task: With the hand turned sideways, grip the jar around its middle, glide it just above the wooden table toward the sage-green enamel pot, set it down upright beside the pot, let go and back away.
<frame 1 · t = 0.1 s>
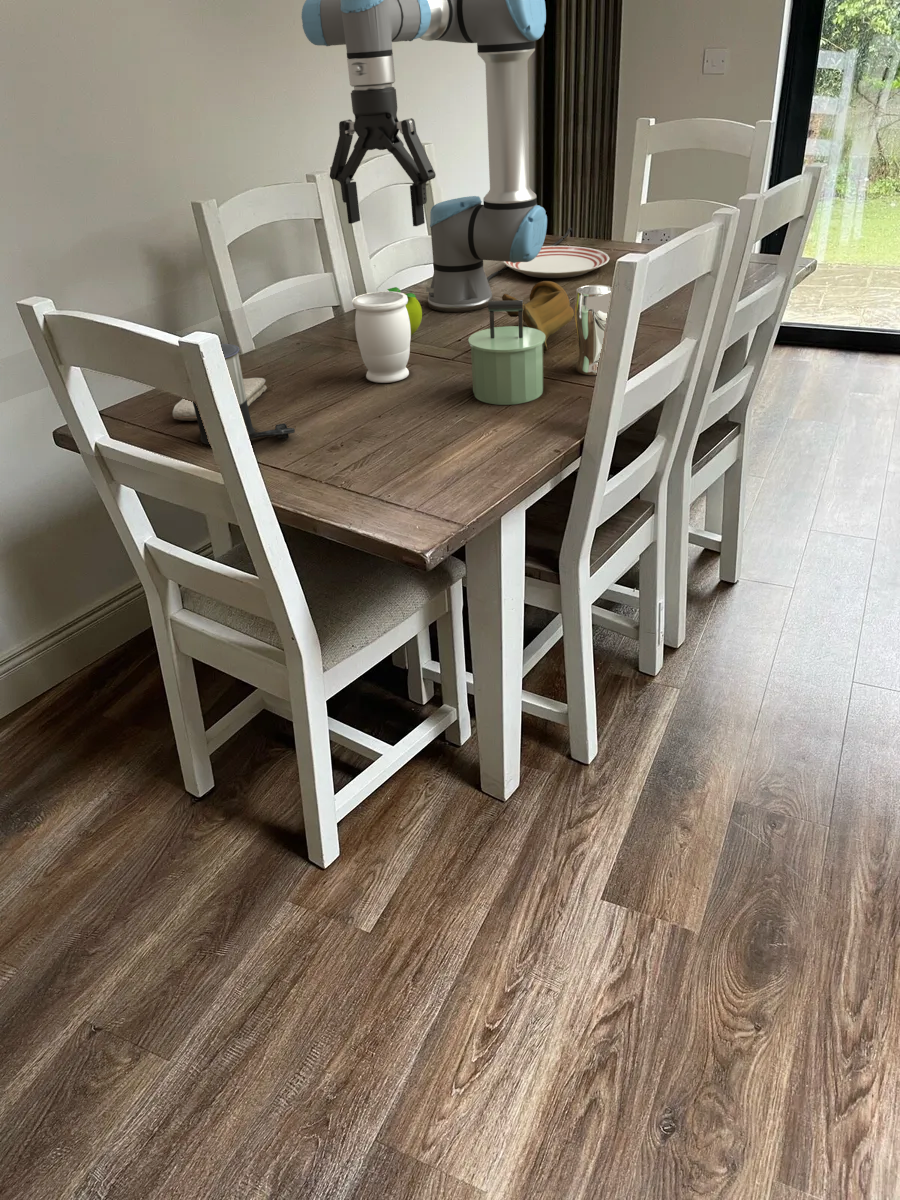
hand: (386, 223, 164), 28 cm above the table, tool pointing down, fingers open, 13 cm apart
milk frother: (248, 440, 157), on the table
beer glass: (592, 371, 175), on the table
fruit: (401, 337, 201), on the table
jar: (387, 377, 180), on the table
pot lid: (506, 340, 163), point 9 cm above the table, touching pot
washcloth: (223, 406, 172), on the table
pot: (508, 392, 168), on the table
brown looped sculpture: (539, 342, 192), on the table
dinner plate: (555, 270, 243), on the table
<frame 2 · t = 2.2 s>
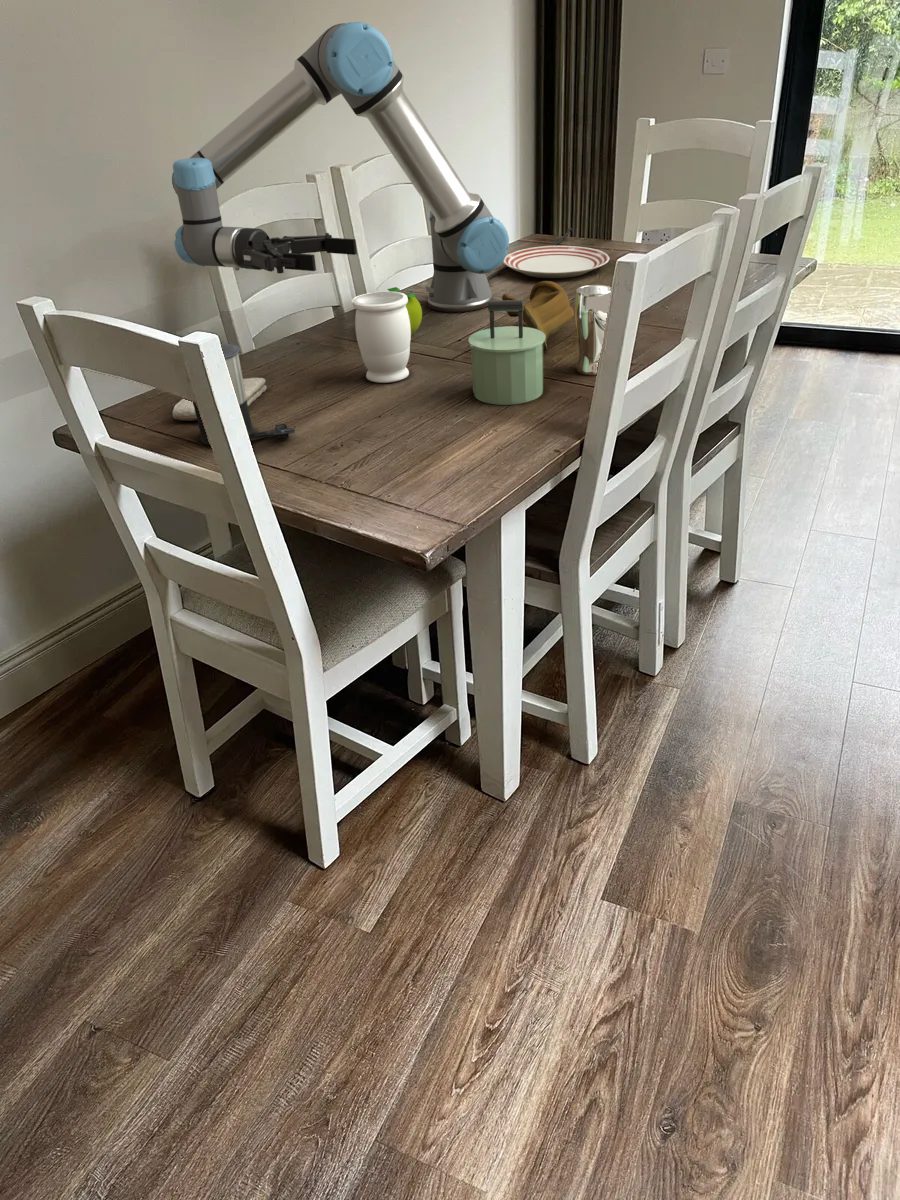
hand: (335, 254, 172), 22 cm above the table, tool horizontal, fingers open, 13 cm apart
nothing on the table moved.
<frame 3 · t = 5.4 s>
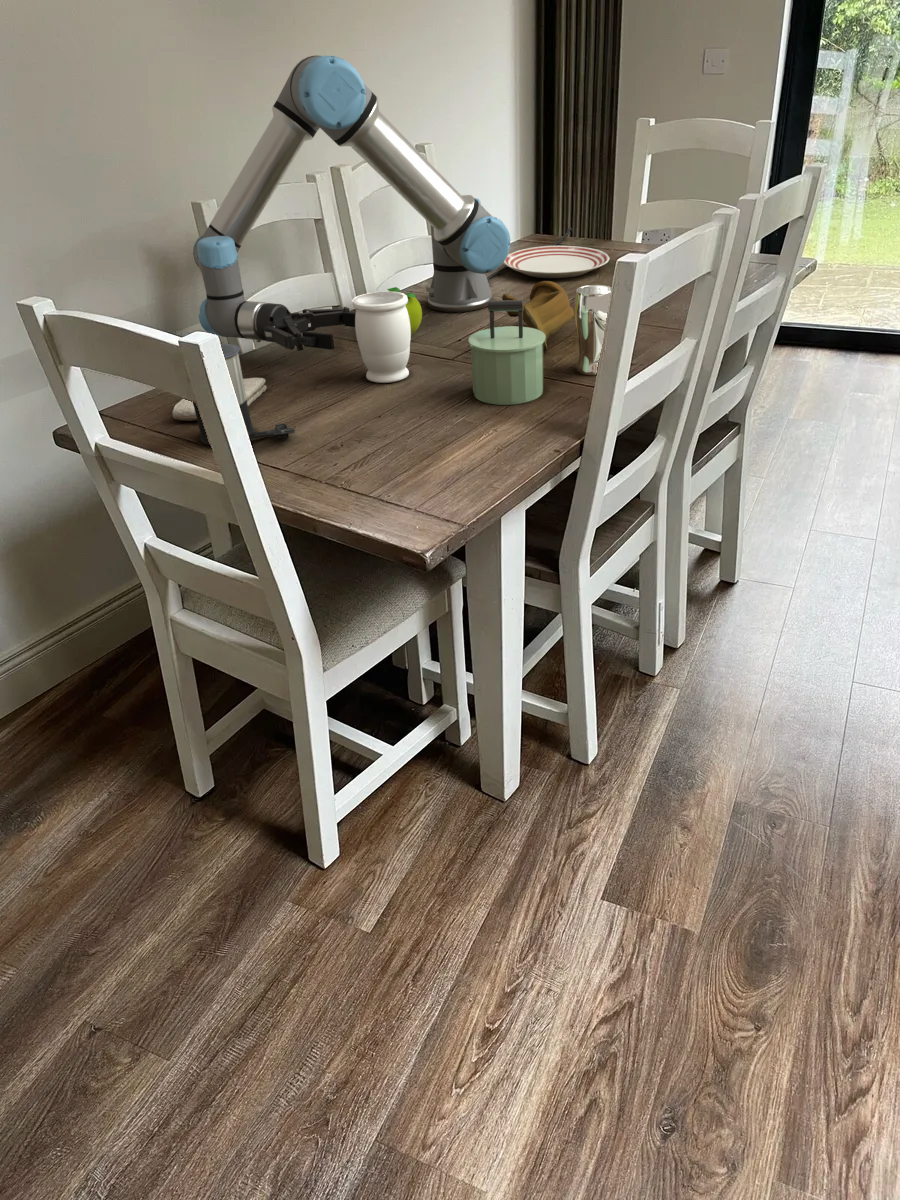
hand: (352, 331, 178), 8 cm above the table, tool horizontal, fingers open, 13 cm apart
nothing on the table moved.
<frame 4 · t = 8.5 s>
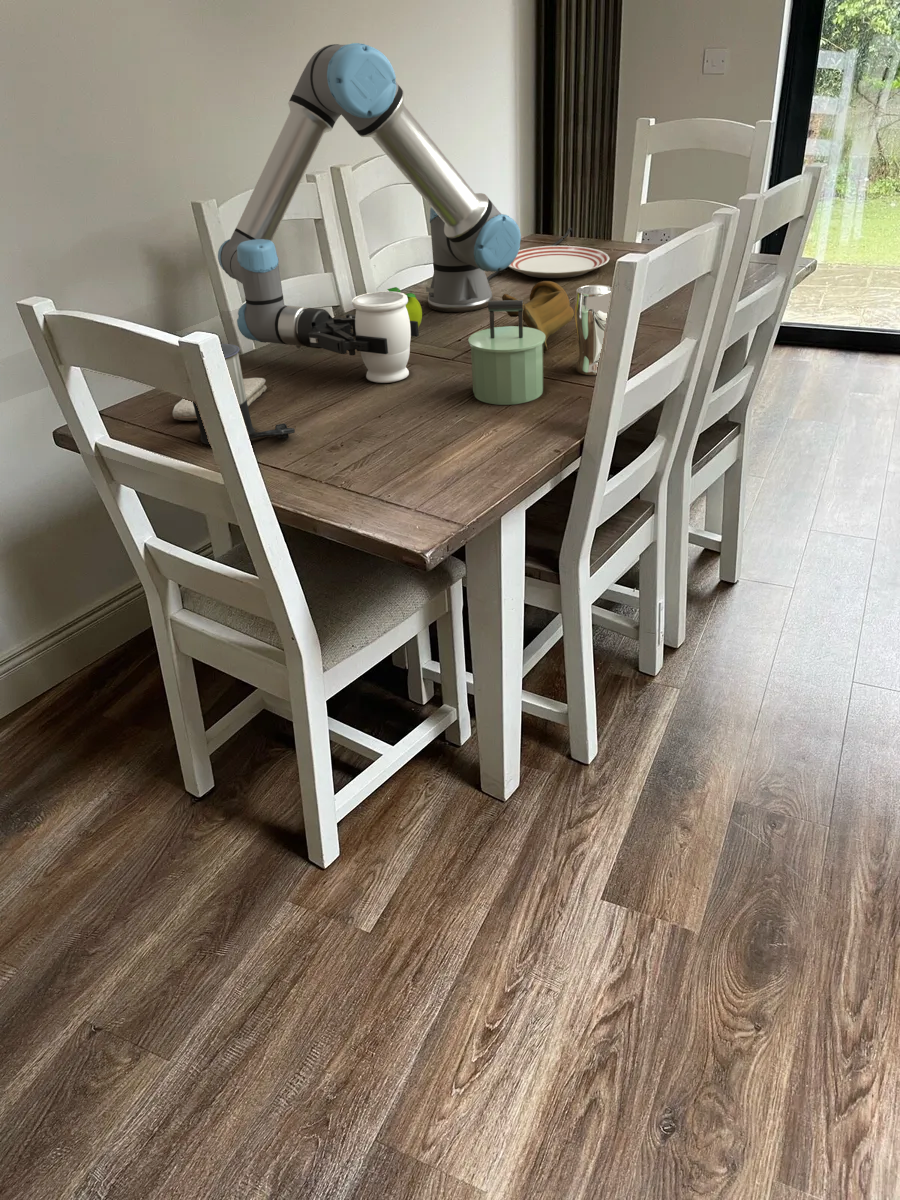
hand: (402, 337, 173), 8 cm above the table, tool horizontal, fingers closed on jar, 10 cm apart
jar: (387, 377, 180), on the table, touching gripper
everything else where it was.
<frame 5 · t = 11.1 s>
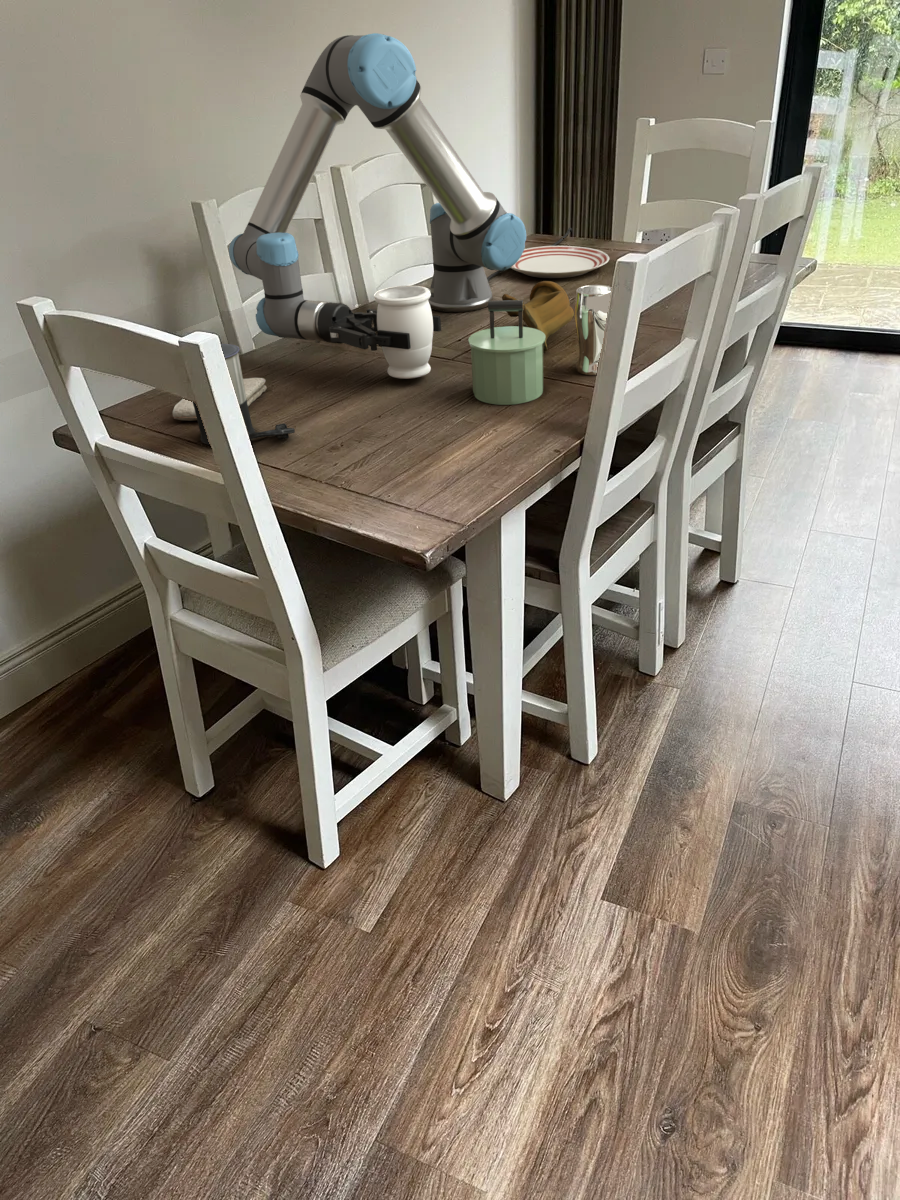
hand: (424, 332, 170), 9 cm above the table, tool horizontal, fingers closed on jar, 10 cm apart
jar: (409, 373, 177), point 1 cm above the table, touching gripper
everything else where it was.
when the fingers open (8 cm above the table, at t = 13.7 s): jar stays where it is, on the table.
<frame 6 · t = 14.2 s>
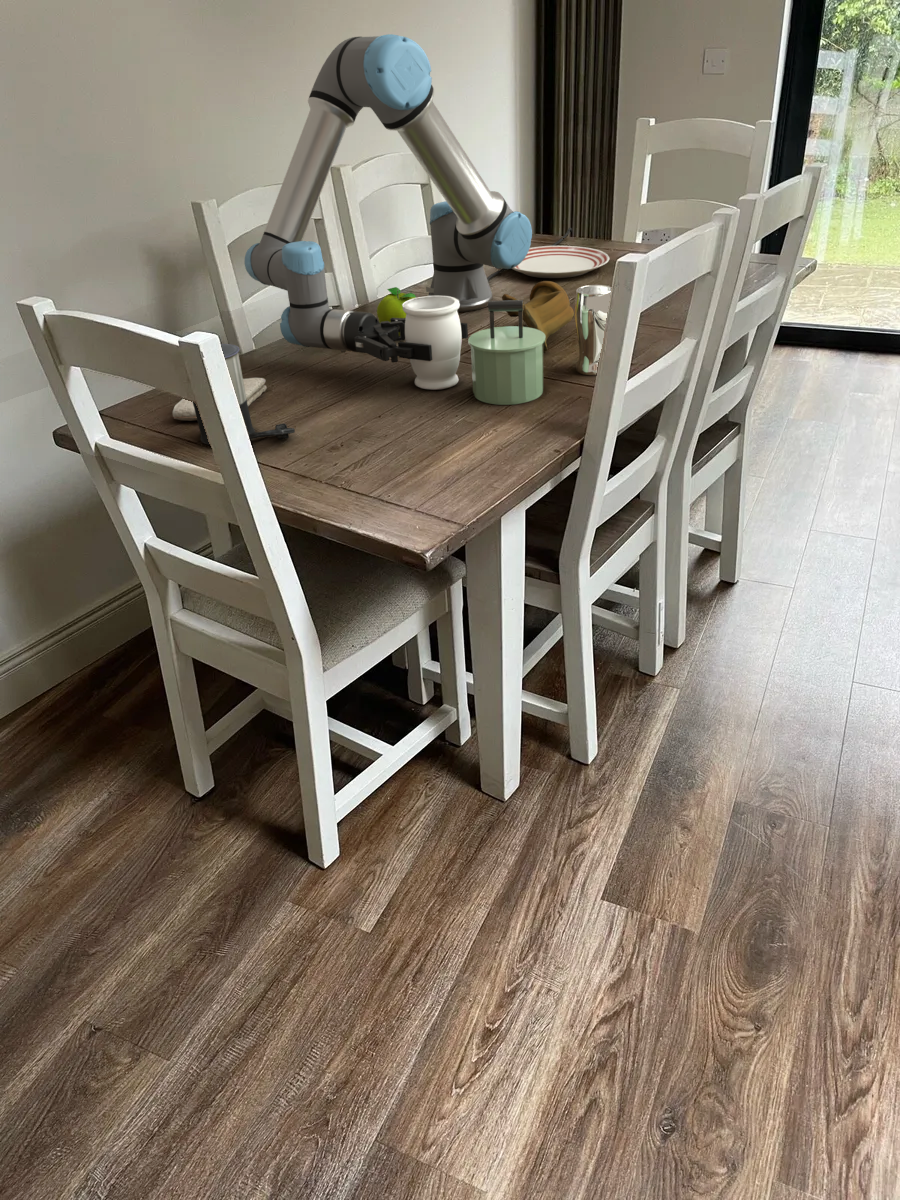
hand: (449, 341, 169), 8 cm above the table, tool horizontal, fingers open, 13 cm apart
jar: (436, 383, 175), on the table
everything else where it was.
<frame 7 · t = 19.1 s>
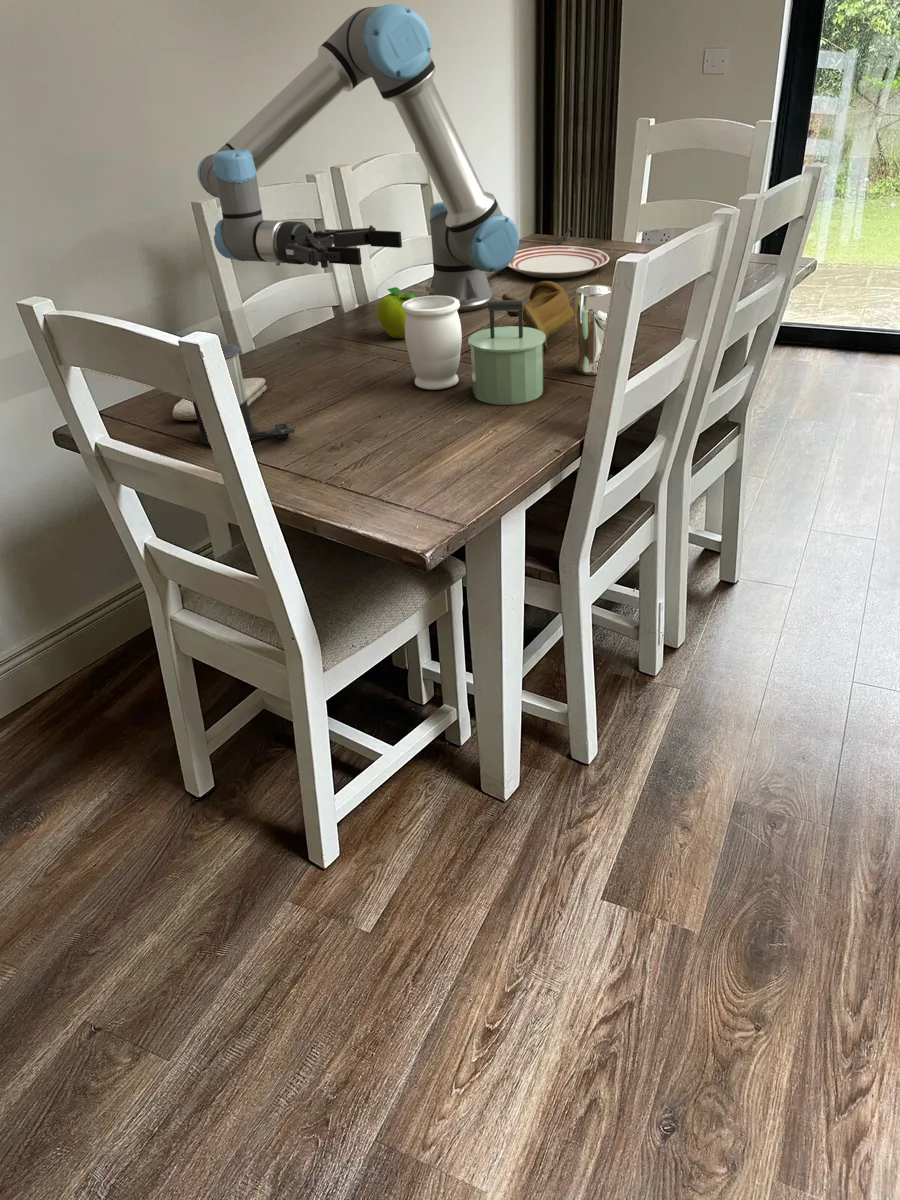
hand: (380, 247, 166), 24 cm above the table, tool horizontal, fingers open, 13 cm apart
nothing on the table moved.
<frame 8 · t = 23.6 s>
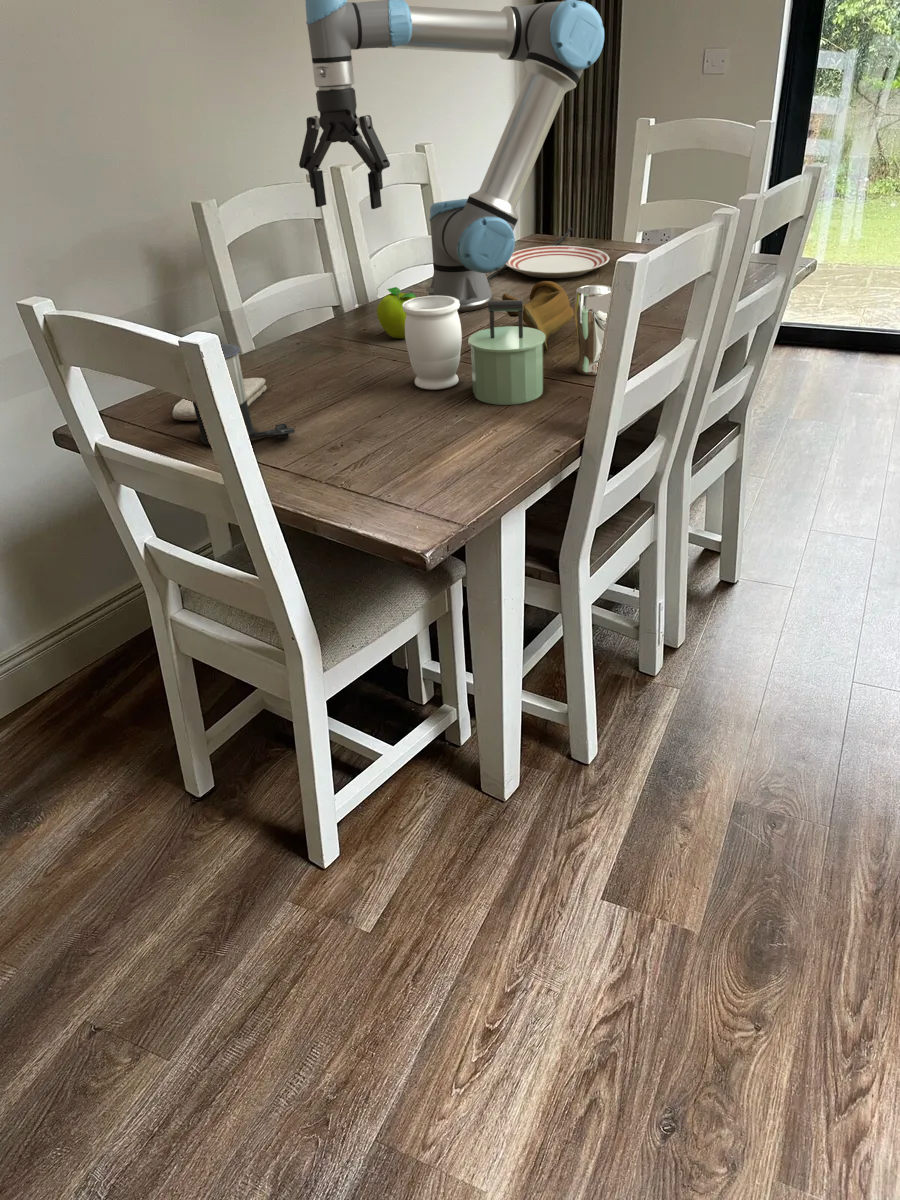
hand: (348, 207, 188), 27 cm above the table, tool pointing down, fingers open, 13 cm apart
nothing on the table moved.
at the end: jar 15.0 cm from the pot (horizontally); jar tilted 0°; the gripper is holding nothing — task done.
